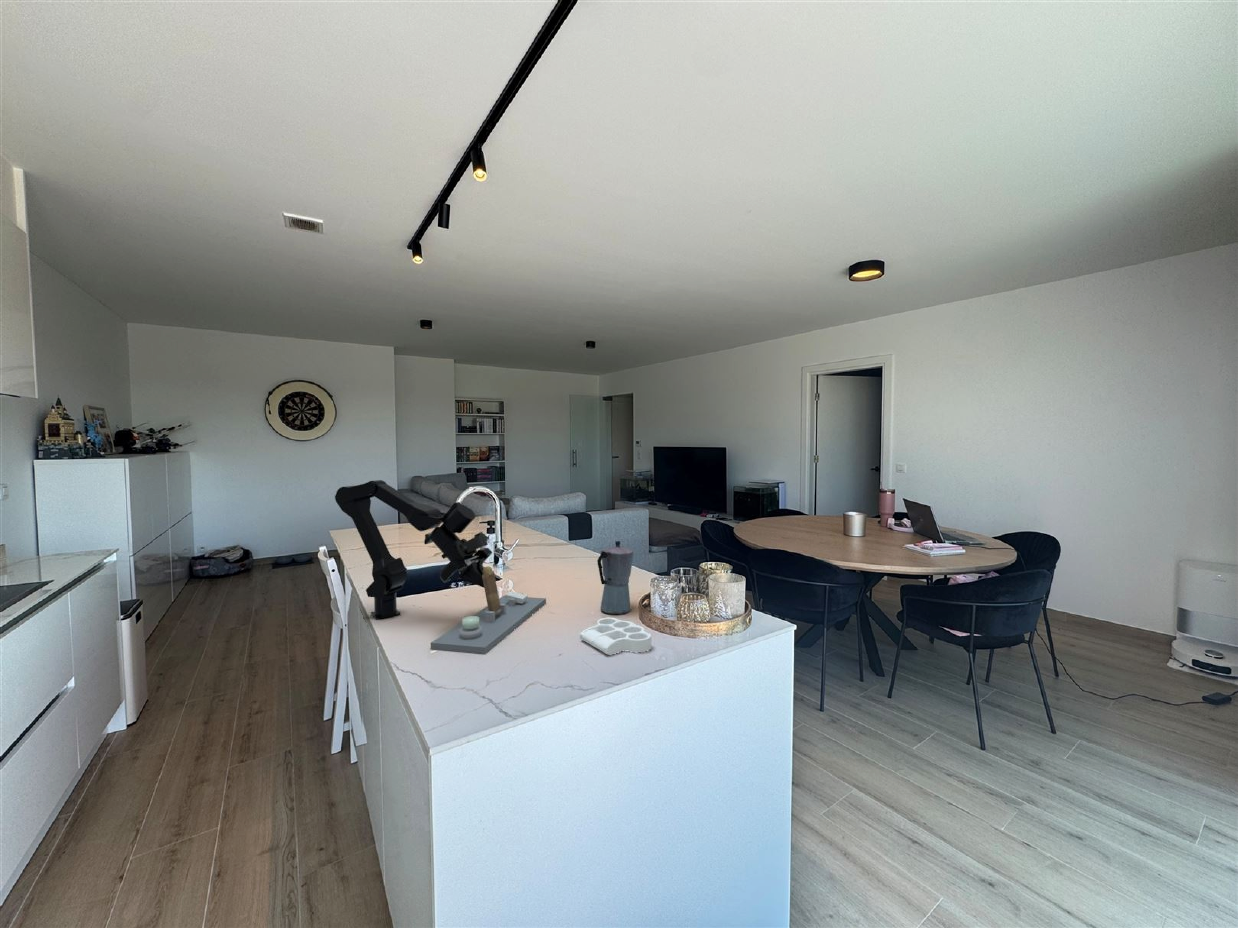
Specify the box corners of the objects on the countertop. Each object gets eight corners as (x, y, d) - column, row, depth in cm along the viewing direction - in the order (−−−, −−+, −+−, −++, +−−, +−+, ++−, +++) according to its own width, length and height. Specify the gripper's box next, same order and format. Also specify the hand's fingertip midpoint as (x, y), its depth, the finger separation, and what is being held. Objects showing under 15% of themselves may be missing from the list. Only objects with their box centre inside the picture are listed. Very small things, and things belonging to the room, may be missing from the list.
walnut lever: (487, 619, 131) (478, 569, 131) (495, 614, 135) (486, 565, 136) (496, 618, 130) (487, 567, 131) (504, 612, 135) (494, 563, 135)
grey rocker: (504, 599, 144) (505, 594, 144) (509, 595, 148) (510, 591, 148) (522, 603, 143) (522, 598, 143) (527, 599, 147) (527, 595, 147)
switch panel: (430, 648, 116) (430, 631, 116) (503, 600, 153) (503, 587, 153) (485, 653, 113) (484, 636, 113) (546, 603, 150) (545, 589, 150)
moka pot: (643, 606, 146) (642, 539, 146) (614, 621, 133) (614, 548, 133) (616, 600, 152) (615, 536, 151) (586, 615, 139) (585, 544, 138)
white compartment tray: (573, 638, 123) (620, 626, 131) (614, 663, 108) (665, 647, 117) (572, 625, 123) (620, 613, 131) (614, 648, 108) (665, 633, 117)
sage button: (458, 628, 119) (458, 620, 119) (467, 622, 123) (467, 615, 123) (474, 629, 118) (473, 622, 118) (482, 623, 122) (482, 616, 122)
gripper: (449, 530, 125) (490, 575, 123) (485, 519, 143) (521, 559, 141) (422, 559, 127) (462, 604, 125) (461, 545, 145) (496, 584, 143)
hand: (487, 586), depth 133 cm, fingers closed, pressing on walnut lever
